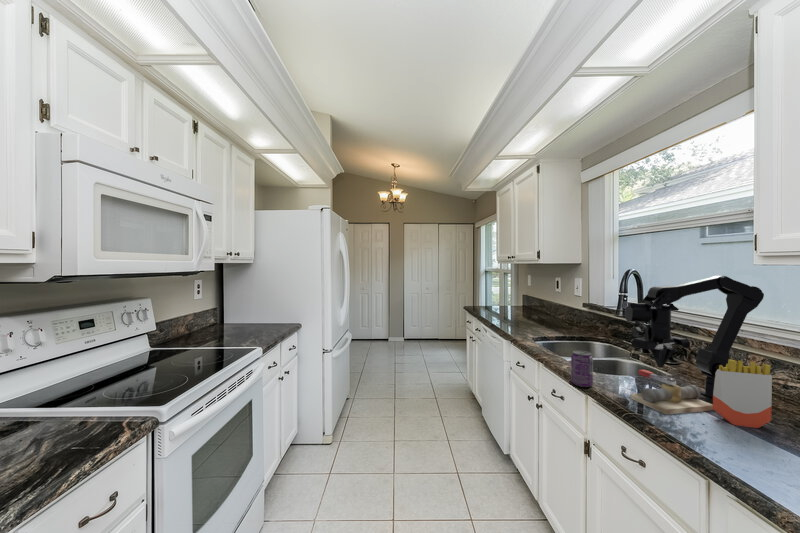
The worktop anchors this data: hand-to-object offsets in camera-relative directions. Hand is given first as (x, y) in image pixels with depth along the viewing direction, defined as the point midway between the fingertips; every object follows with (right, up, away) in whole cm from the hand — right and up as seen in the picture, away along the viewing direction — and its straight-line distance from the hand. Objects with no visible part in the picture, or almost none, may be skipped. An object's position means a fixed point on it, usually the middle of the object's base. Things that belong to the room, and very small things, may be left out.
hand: (660, 367), depth 115 cm
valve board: (-4, -9, -9) cm, 14 cm away
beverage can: (-23, -9, +7) cm, 26 cm away
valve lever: (-5, -3, -5) cm, 7 cm away
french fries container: (+6, -9, -22) cm, 24 cm away
